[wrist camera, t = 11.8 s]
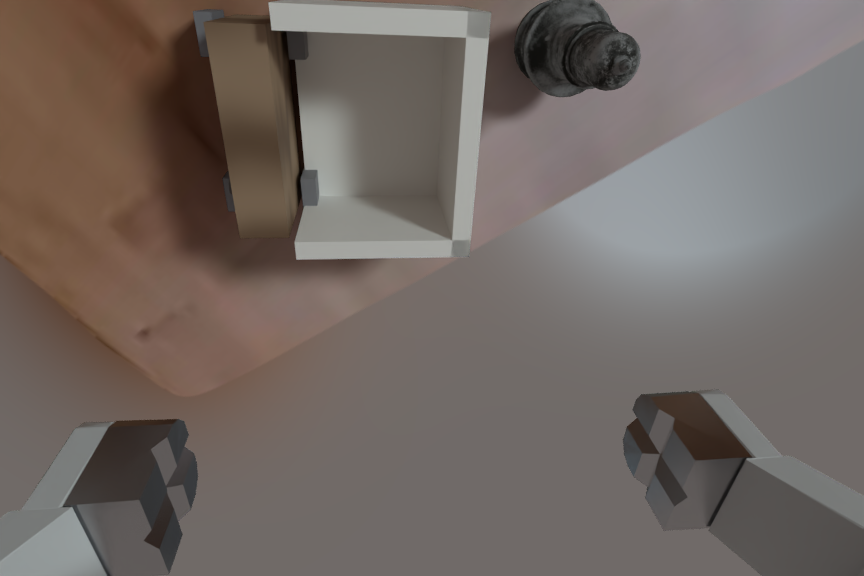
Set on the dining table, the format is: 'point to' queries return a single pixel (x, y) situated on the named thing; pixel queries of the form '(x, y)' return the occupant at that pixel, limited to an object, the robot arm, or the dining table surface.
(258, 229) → the door
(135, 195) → the dining table surface
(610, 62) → the chess piece
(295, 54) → the cabinet
